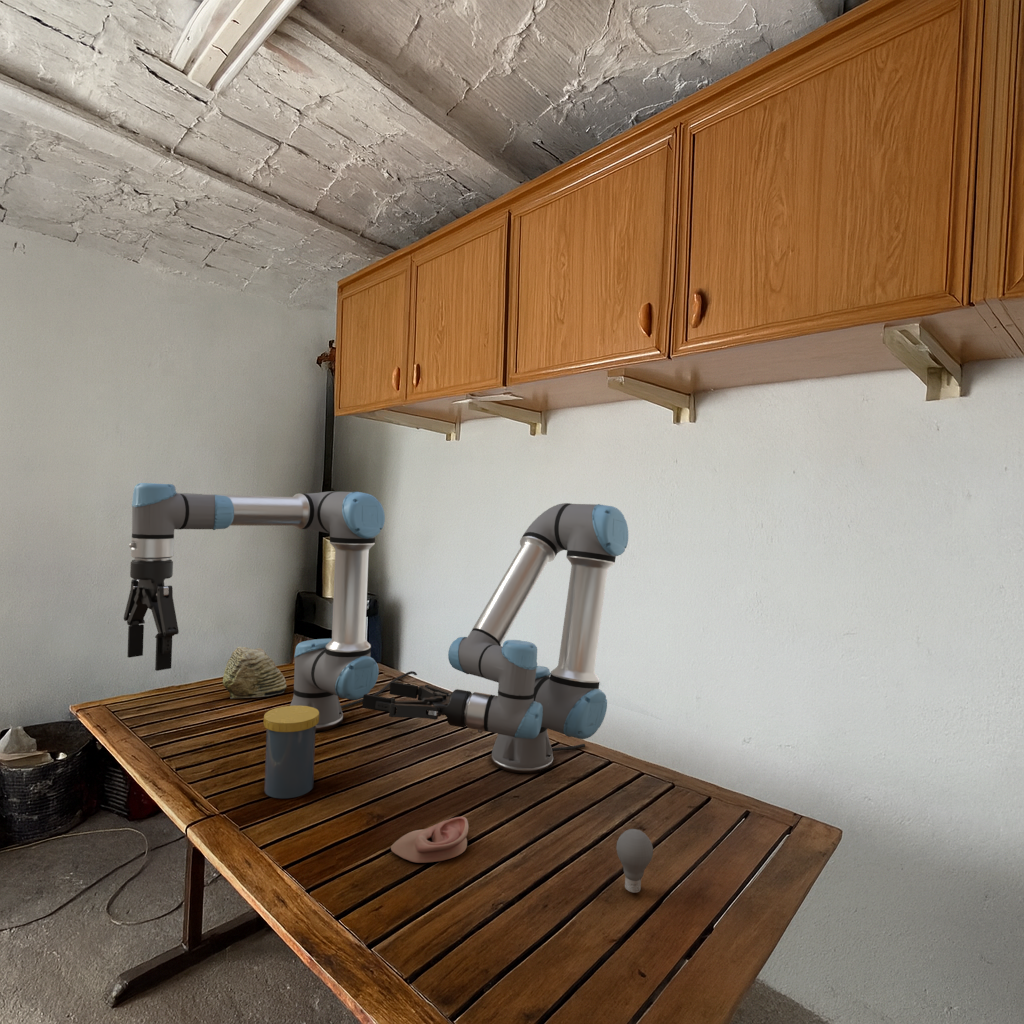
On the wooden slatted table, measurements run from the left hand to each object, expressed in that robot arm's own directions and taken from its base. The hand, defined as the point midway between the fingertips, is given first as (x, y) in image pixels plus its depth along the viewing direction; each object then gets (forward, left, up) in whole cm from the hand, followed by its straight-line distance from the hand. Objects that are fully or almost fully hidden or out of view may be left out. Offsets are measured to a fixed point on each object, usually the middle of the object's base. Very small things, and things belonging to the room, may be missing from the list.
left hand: (148, 662), depth 129 cm
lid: (-23, +16, -12) cm, 31 cm away
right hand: (-36, +29, -8) cm, 47 cm away
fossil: (-50, -47, -28) cm, 74 cm away
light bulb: (-41, +90, -28) cm, 103 cm away
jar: (-23, +16, -28) cm, 40 cm away
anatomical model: (-27, +56, -28) cm, 68 cm away
